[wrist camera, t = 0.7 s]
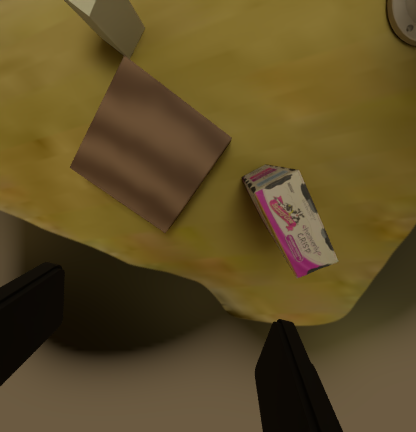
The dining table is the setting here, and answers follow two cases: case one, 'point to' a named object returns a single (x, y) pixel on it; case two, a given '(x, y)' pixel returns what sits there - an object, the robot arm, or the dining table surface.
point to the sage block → (111, 22)
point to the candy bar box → (290, 217)
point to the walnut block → (148, 147)
